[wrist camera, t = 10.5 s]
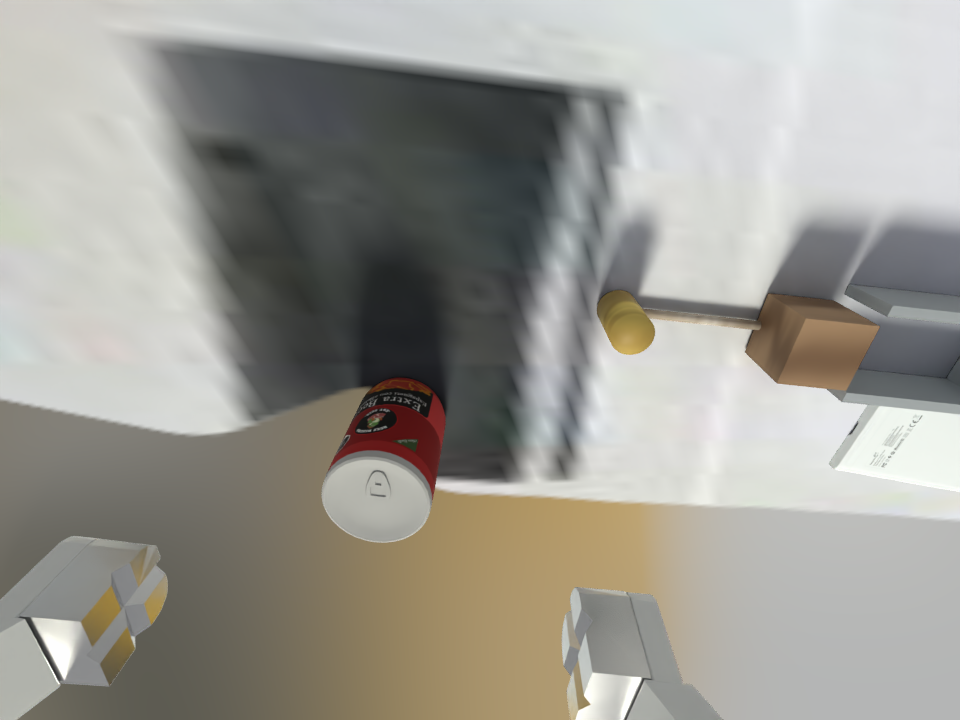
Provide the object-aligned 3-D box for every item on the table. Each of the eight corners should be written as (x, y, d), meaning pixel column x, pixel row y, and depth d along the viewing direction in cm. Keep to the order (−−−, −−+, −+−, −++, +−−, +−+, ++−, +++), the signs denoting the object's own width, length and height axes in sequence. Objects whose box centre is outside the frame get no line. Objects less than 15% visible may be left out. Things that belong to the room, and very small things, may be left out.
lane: (849, 284, 36) (893, 305, 32) (1006, 301, 36) (1069, 324, 32) (807, 372, 39) (841, 402, 35) (950, 387, 39) (1001, 418, 35)
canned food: (437, 369, 40) (417, 450, 31) (454, 444, 44) (441, 539, 34) (350, 379, 41) (304, 462, 31) (374, 453, 45) (339, 548, 35)
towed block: (604, 275, 36) (619, 298, 31) (833, 300, 36) (880, 326, 32) (590, 335, 38) (602, 364, 34) (806, 358, 38) (846, 390, 34)
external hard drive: (949, 482, 45) (824, 459, 44) (1010, 410, 41) (874, 384, 40) (964, 494, 43) (835, 471, 43) (1029, 421, 39) (888, 395, 39)
